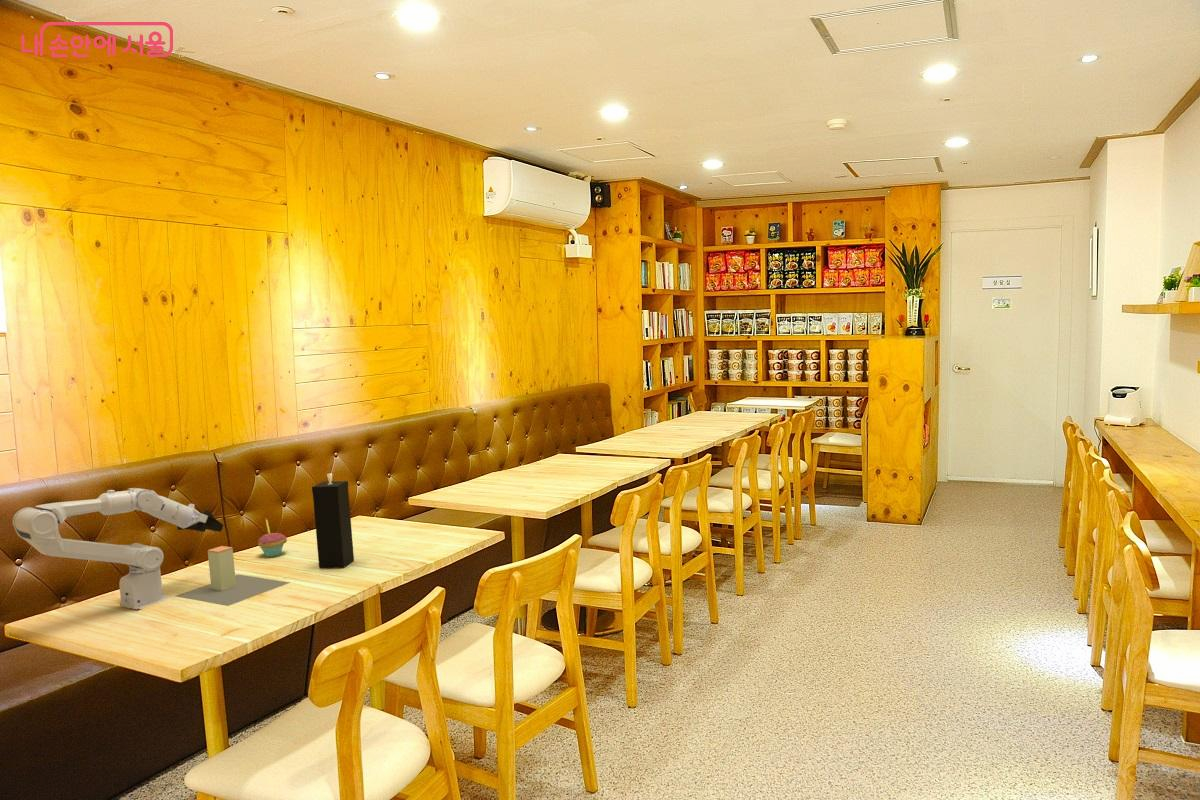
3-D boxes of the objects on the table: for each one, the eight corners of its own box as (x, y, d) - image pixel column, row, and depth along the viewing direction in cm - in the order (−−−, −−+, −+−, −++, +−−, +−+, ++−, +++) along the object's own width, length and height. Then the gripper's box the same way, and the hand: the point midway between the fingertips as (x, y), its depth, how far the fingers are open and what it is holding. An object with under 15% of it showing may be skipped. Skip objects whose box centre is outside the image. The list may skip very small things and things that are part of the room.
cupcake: (253, 557, 262) (249, 520, 261) (275, 550, 269) (271, 514, 268) (272, 559, 258) (268, 522, 257) (293, 552, 265) (290, 515, 264)
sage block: (222, 590, 227) (218, 551, 226) (211, 589, 229) (207, 550, 228) (236, 585, 231) (232, 547, 230) (225, 584, 233) (221, 545, 232)
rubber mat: (228, 608, 214) (228, 605, 214) (174, 597, 225) (174, 595, 225) (290, 584, 231) (290, 582, 231) (238, 576, 242) (238, 574, 242)
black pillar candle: (354, 560, 252) (347, 470, 250) (344, 568, 245) (336, 475, 242) (329, 561, 253) (322, 471, 250) (318, 568, 245) (310, 475, 243)
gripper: (192, 497, 225) (234, 514, 235) (162, 498, 233) (203, 515, 243) (182, 522, 222) (224, 538, 232) (152, 522, 230) (194, 538, 240)
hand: (213, 528), depth 237 cm, fingers open, 7 cm apart
